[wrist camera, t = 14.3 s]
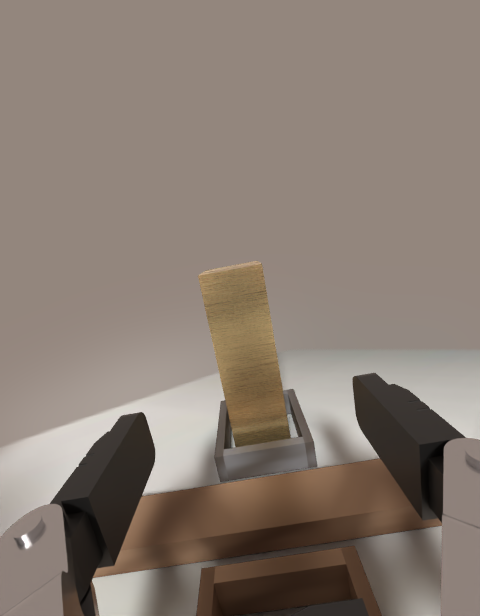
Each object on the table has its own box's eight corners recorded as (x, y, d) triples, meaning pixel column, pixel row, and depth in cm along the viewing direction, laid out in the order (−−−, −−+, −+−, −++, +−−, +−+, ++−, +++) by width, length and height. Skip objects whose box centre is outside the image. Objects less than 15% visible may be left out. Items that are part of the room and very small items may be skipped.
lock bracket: (-122, 1048, 6) (-171, 1014, 5) (155, 431, 25) (150, 413, 24) (864, 961, 5) (902, 911, 5) (368, 396, 24) (366, 376, 24)
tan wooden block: (239, 463, 19) (198, 275, 16) (239, 427, 23) (205, 270, 20) (293, 455, 19) (261, 263, 16) (284, 420, 23) (257, 260, 20)
